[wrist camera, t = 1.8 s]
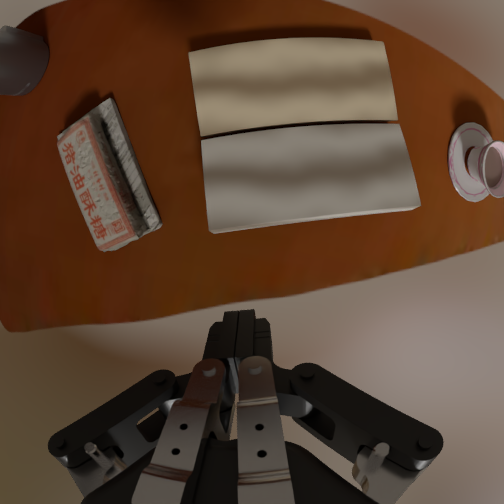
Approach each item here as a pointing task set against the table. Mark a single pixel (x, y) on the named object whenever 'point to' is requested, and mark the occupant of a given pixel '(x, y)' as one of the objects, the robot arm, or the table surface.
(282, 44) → the oak plank
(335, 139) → the whitewashed plank
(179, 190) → the table surface
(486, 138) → the teacup
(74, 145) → the packaged product
